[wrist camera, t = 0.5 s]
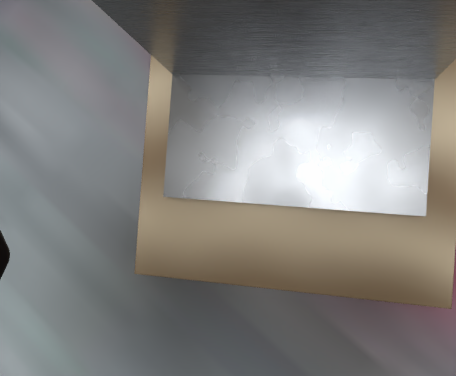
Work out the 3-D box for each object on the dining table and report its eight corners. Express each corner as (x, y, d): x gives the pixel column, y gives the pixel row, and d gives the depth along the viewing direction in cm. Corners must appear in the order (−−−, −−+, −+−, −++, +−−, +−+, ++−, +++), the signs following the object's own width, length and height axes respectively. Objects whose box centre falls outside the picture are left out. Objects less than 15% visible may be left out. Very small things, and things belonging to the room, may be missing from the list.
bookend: (422, 216, 20) (630, 243, 7) (167, 197, 22) (-34, 190, 9) (432, 65, 20) (655, -184, 7) (177, 62, 22) (-8, -132, 9)
